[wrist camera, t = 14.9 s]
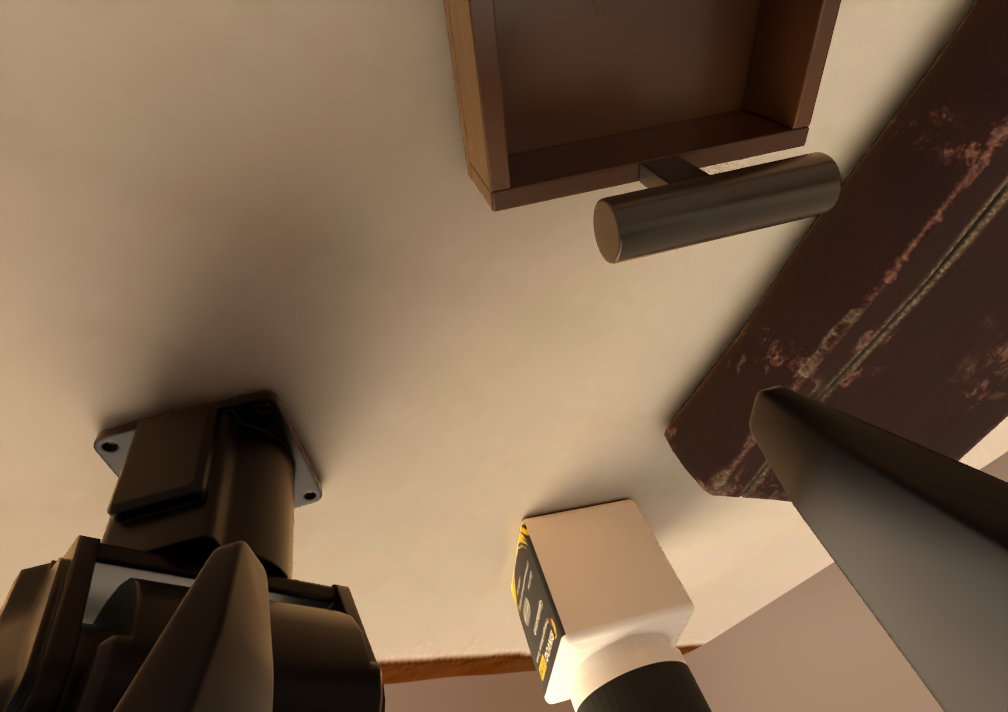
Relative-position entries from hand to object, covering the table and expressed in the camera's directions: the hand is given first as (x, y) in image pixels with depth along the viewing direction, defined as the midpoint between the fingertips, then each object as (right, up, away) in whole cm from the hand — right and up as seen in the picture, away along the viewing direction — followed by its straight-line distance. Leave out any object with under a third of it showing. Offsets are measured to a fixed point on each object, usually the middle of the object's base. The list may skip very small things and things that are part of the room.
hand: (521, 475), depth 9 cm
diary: (+20, +7, +18) cm, 28 cm away
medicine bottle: (+4, -9, +24) cm, 26 cm away
